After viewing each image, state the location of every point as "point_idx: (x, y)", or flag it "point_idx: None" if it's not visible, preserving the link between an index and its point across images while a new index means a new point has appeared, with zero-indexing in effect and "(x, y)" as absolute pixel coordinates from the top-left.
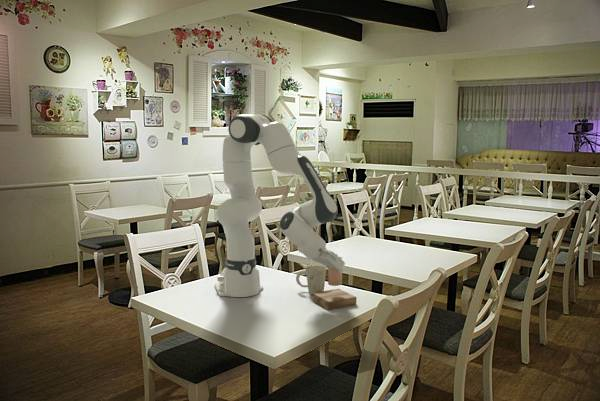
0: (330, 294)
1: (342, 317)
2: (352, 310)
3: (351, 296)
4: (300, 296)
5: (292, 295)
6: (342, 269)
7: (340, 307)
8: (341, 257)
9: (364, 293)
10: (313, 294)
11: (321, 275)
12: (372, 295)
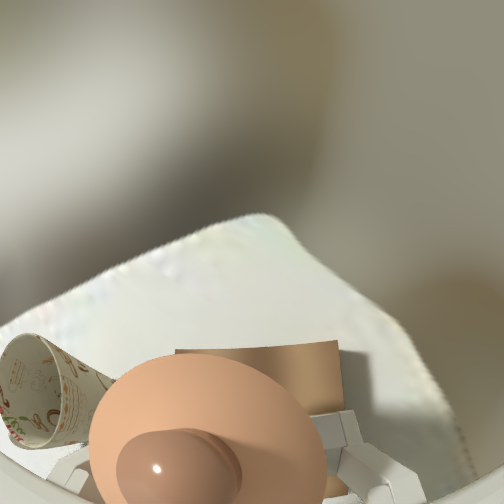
0: None
1: (434, 456)
2: (387, 394)
3: (319, 358)
4: None
5: None
6: (354, 417)
7: None
8: (225, 359)
9: (215, 247)
10: None
11: (81, 404)
12: (251, 233)
